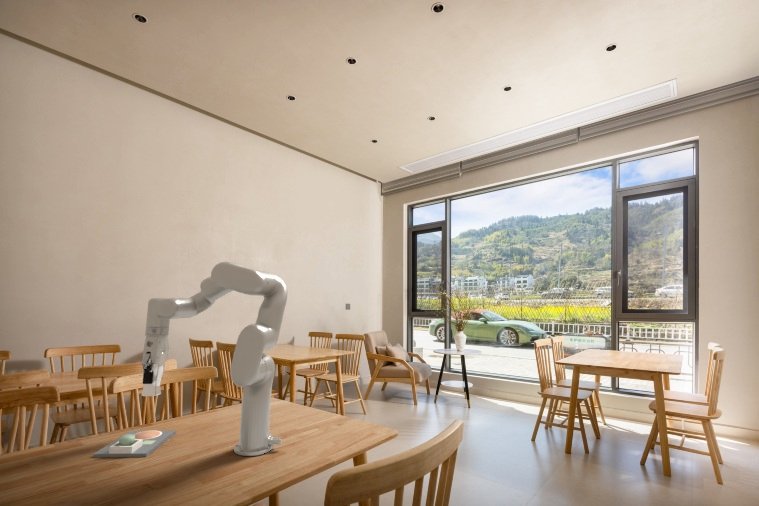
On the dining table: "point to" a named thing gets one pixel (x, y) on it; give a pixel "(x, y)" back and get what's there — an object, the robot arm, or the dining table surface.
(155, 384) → the beer glass
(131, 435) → the button
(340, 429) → the dining table surface
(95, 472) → the dining table surface
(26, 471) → the dining table surface
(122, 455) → the picture board
